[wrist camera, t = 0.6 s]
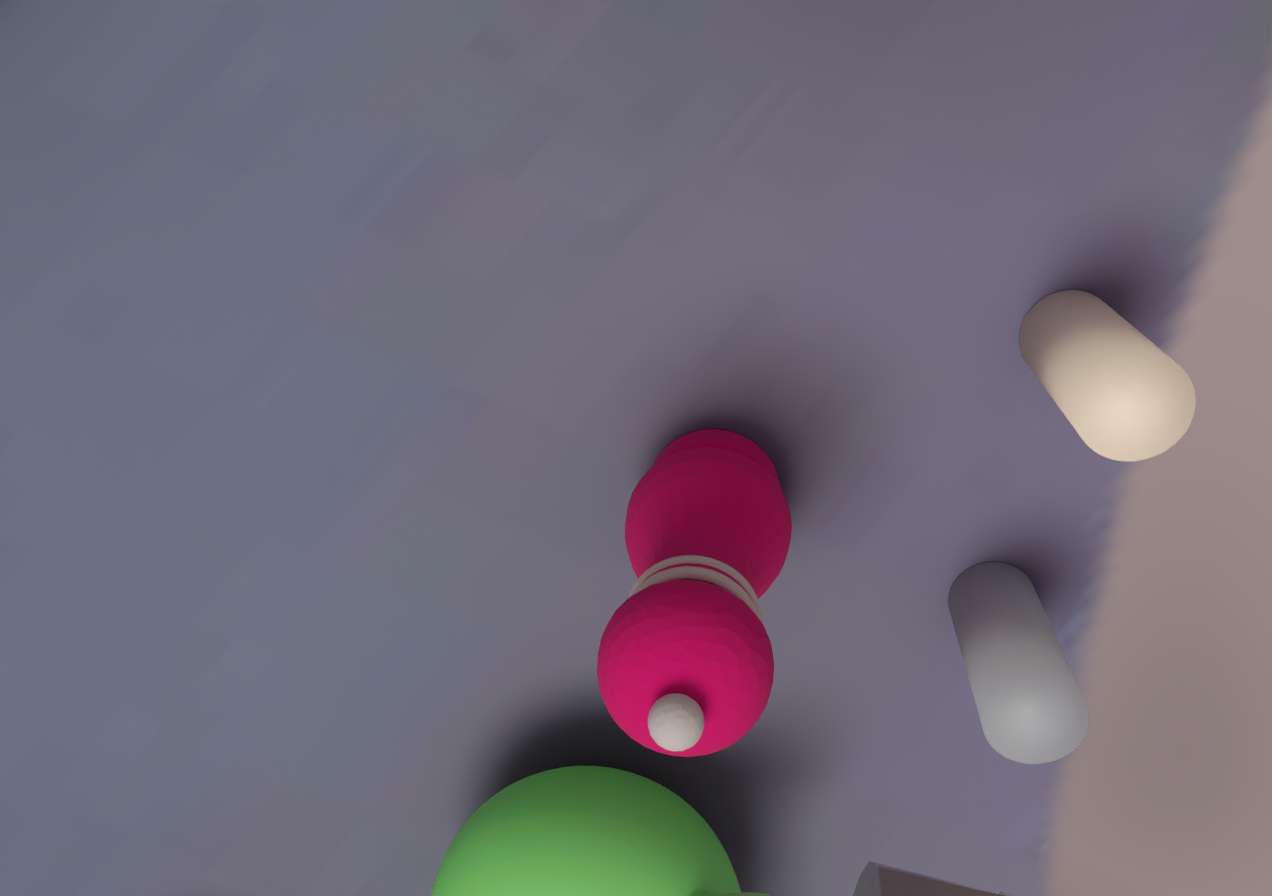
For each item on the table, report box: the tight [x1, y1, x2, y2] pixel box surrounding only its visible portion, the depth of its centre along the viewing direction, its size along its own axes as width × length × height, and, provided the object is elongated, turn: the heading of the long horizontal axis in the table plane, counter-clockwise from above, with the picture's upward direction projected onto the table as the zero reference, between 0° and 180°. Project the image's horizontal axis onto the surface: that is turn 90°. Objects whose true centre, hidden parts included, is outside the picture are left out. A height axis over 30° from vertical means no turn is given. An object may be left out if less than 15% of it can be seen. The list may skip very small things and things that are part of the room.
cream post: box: [1019, 290, 1196, 461], centre depth 43 cm, size 4×4×10 cm
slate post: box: [948, 562, 1089, 764], centre depth 48 cm, size 4×4×10 cm
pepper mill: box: [597, 429, 792, 757], centre depth 43 cm, size 7×7×20 cm
